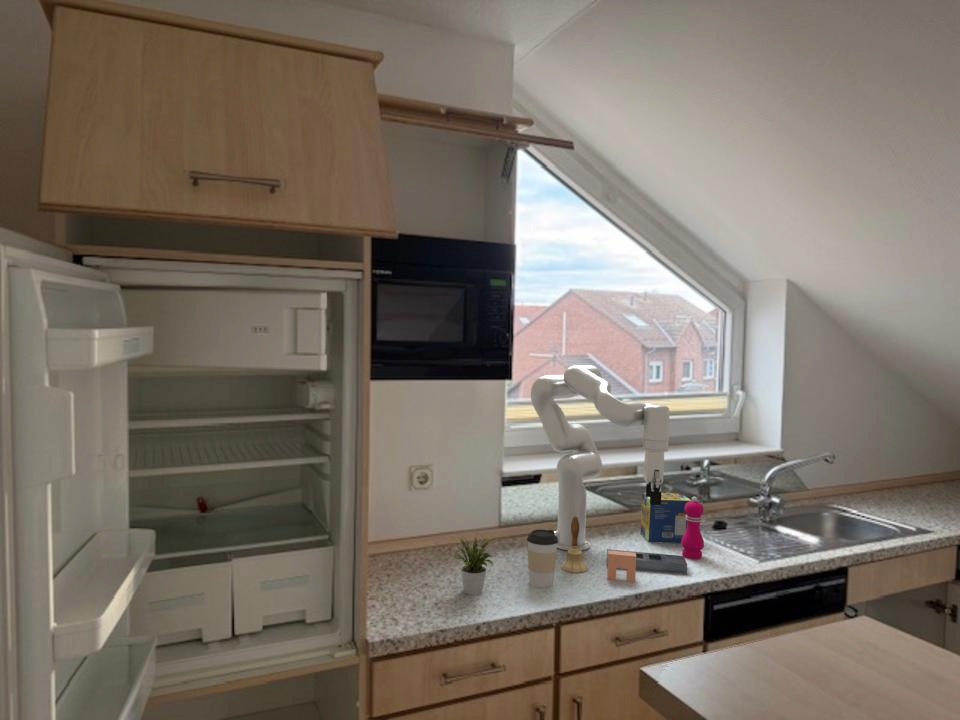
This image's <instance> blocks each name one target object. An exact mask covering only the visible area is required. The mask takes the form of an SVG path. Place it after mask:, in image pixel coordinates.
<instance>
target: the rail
mask: <svg viewBox="0 0 960 720" xmlns="http://www.w3.org/2000/svg"><path fill="white" fill-rule="evenodd" d="M608 551H619V552H631V553H636V570H639V571H651V572H661V573H670V574H671V573H672V574H680V573H682V574H681V575H687V574H688V563H687V560H686V557H684V556H683V555H676V554H675V555H674V554H668V553H667V554H665V553H655V552H642V551H641V552H640V551H629V550H621V549H619V550H618V549H608V548H607V549H606V566H607V568H608Z"/></svg>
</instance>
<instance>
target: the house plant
mask: <svg viewBox="0 0 960 720" xmlns="http://www.w3.org/2000/svg"><path fill="white" fill-rule="evenodd" d="M478 533H479V532H478V531H477V532H476V534H475V536H474V539H473V544H472V548H470V545H469V542H468V540H467V538H466V537H465V536H464V535H462V534H460V536H459V537H458V540H460V541H461V543H462V544H459V546H460V547H458V549H459V550H460V551H461V552H462V554H463V556H464V557H463V556H462V555H461V554H460V553H459V554H458V553H456V554H454V555H452V557H453V558H455V560H459V561H461V562H462V563H464V564H465V565H463V566H462V567H461V568H460V571H461V579H462V585H463V586H462V588H463V592H464V593H465V594H467V595H471V596H475V595H477V596H478V595H481V594H482V593H483V590H484V585H485V580H486V574H487V568H488V563H489V564H491V565H492V567H494V565H493V564H494V562H493V561H492V560H490V559H487V558H491V557H492V558H493V557H494V556H493V555H492V554H490V553H489V552H485V551H486V549H488V547H490V546H492V545H493V546H494V543H492V544H490V545H489V542H490V541H491V539H493V538H494V535H493V536H490V537H489V538H487V539H486V540H485V541H484V542H483V544H482V545H480V547H479V548H478V546H479V544H480V542H482V541H483V540H484V539H485V538H486V537H485V538H482V539H481V540H480V541H479V542H478V538H477V535H478ZM461 536H462V537H463V538H464V539H465V540H464V539H463V538H462V537H461ZM446 538H448V539H452V540H454V541H456V539H455V538H454V537H447V536H446ZM488 545H489V546H488ZM487 546H488V547H487ZM486 547H487V548H486ZM464 549H465V550H464Z"/></svg>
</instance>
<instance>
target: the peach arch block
mask: <svg viewBox="0 0 960 720" xmlns="http://www.w3.org/2000/svg"><path fill="white" fill-rule="evenodd" d="M617 569H623V570H626V575H625V576H626V582H627V581H628V582H636V570H637V569H636V553H631V552H619V551H608V567H607V571H606V572H607V575H606V576H607V579H608V580H616V579H617Z"/></svg>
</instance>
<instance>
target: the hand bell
mask: <svg viewBox="0 0 960 720" xmlns="http://www.w3.org/2000/svg"><path fill="white" fill-rule="evenodd" d="M571 533H572V549H569V550H567V554H566V557H565V560H564V562H563V563H562V564H561V565H560V568H561V569H562V570H563V571H565V572H567V573H573V574H575V573H577V574H581V573H585V572H588V570H589V568H588V566H587V565H586V563H585V561H584V559H583V550H582V551H581V550H579V549H578V544H577V543H578V542H577V537H578V534H579V522H578V518H577V517H573V520H572V523H571Z"/></svg>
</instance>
